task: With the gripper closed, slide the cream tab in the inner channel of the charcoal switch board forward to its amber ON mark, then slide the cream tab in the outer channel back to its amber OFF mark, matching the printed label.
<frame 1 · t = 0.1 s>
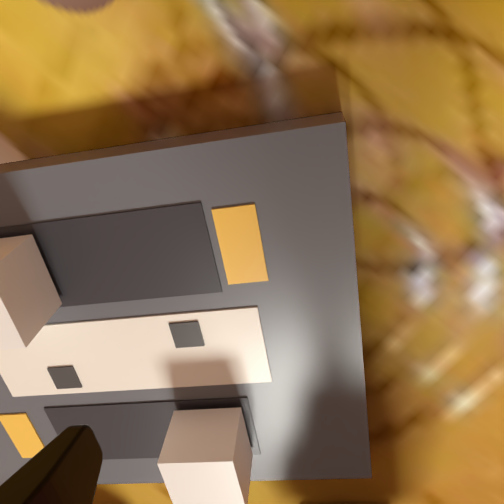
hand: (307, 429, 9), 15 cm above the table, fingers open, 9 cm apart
switch board: (119, 334, 27), on the table
tab inner: (208, 458, 25), point 4 cm above the table, slide at 0.0 cm
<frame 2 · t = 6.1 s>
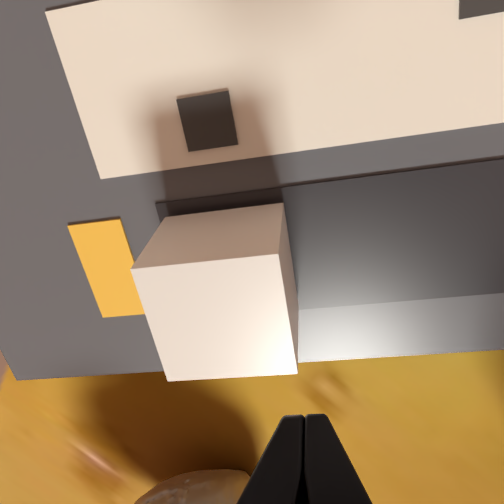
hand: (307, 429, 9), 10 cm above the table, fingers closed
switch board: (301, 56, 15), on the table
heart: (208, 489, 26), on the table
tab inner: (226, 290, 14), point 4 cm above the table, slide at 8.1 cm
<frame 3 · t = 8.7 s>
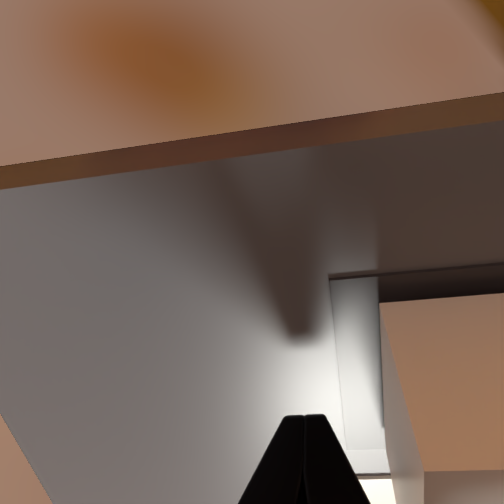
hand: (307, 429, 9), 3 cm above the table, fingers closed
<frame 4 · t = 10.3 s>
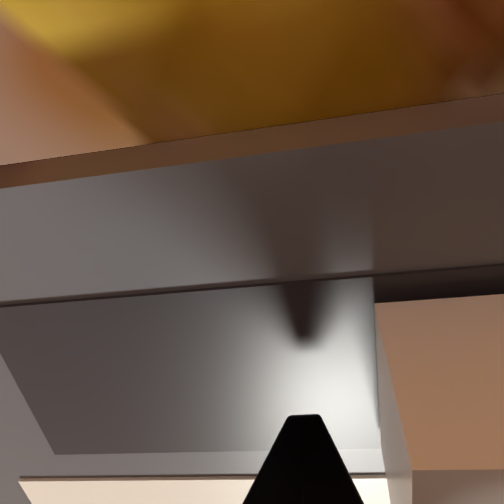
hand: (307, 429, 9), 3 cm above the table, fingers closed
switch board: (275, 470, 15), on the table
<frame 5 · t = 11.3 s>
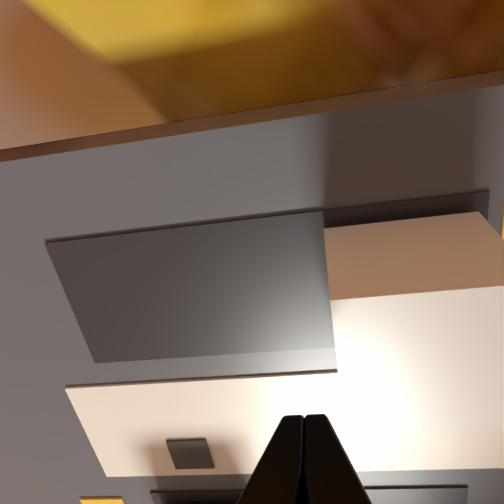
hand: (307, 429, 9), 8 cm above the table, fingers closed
switch board: (265, 387, 19), on the table
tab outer: (413, 320, 11), point 4 cm above the table, slide at -0.1 cm
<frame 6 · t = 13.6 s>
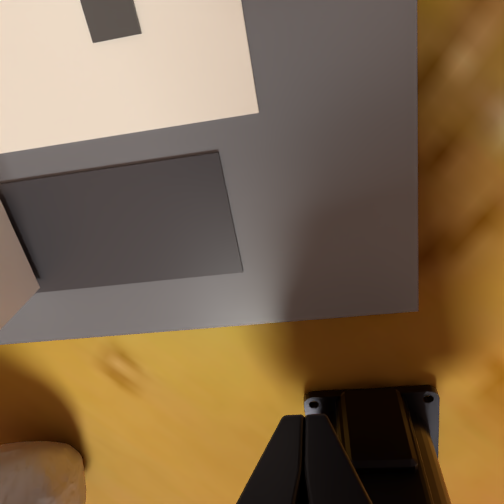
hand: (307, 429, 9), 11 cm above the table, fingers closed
switch board: (16, 71, 17), on the table
heart: (46, 462, 28), on the table
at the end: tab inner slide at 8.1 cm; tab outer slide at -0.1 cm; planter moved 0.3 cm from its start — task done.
